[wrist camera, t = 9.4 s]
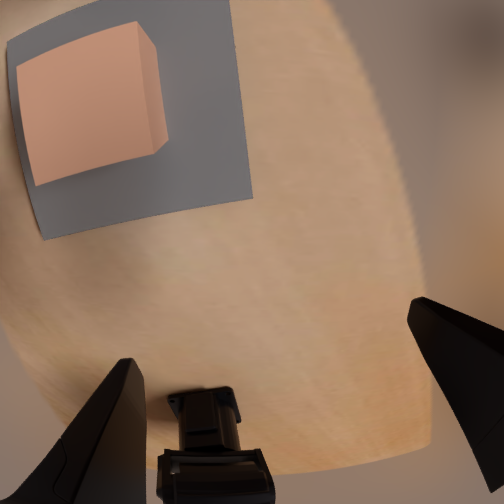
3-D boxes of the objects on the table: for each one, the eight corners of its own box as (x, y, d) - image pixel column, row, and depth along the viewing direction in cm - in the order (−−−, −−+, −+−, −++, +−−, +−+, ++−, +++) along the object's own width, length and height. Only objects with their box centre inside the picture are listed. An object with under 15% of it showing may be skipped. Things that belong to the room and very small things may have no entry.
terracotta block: (168, 139, 15) (154, 153, 11) (79, 161, 15) (35, 186, 10) (156, 47, 13) (136, 20, 8) (65, 74, 12) (16, 66, 7)
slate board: (249, 193, 19) (253, 198, 18) (50, 233, 18) (44, 240, 16) (224, -18, 12) (225, -25, 11) (16, 43, 11) (7, 41, 10)
